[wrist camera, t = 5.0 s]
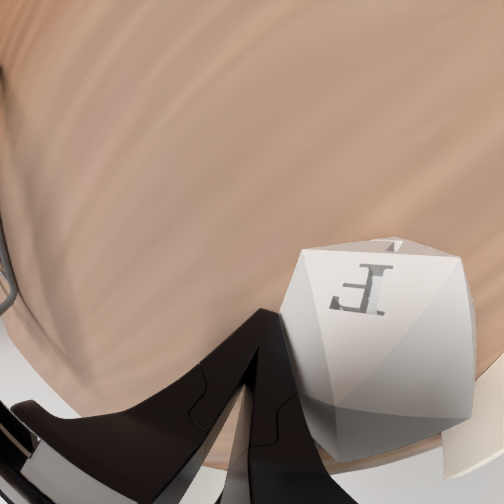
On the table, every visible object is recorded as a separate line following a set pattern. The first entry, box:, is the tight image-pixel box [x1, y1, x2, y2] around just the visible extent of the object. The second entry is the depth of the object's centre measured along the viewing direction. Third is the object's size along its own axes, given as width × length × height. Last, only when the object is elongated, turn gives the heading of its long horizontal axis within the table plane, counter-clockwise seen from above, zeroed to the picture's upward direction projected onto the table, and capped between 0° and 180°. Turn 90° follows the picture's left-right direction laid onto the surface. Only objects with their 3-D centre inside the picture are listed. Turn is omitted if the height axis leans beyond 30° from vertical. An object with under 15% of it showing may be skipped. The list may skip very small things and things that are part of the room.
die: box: [279, 237, 476, 463], centre depth 9 cm, size 8×9×10 cm
